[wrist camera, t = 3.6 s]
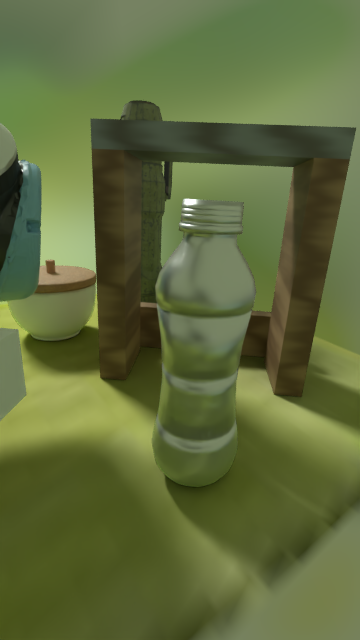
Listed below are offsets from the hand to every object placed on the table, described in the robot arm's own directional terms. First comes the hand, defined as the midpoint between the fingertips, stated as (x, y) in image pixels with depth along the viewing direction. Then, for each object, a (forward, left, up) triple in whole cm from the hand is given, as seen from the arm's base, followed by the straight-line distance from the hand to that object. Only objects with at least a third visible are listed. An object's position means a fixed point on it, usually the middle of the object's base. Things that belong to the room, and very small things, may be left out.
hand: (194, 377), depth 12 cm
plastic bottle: (-3, +10, -14) cm, 18 cm away
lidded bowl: (-33, +25, -14) cm, 44 cm away
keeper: (-9, +27, -14) cm, 31 cm away
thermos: (-31, +46, -14) cm, 57 cm away
